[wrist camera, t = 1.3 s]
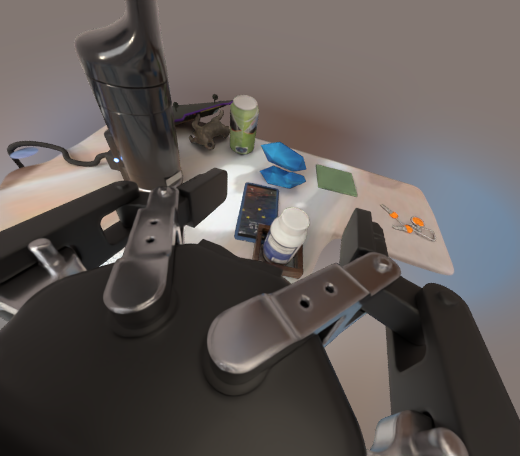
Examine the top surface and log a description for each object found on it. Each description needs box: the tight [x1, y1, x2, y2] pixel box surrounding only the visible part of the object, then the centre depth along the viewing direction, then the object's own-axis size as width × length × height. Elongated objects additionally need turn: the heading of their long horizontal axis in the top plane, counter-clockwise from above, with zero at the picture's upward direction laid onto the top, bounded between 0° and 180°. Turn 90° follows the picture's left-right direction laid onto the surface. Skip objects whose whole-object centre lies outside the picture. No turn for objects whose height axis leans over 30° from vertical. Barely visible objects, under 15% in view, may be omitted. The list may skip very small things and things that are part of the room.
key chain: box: [381, 204, 436, 241], centre depth 46 cm, size 13×7×1 cm, turn 70°
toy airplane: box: [172, 94, 233, 125], centre depth 48 cm, size 23×26×5 cm
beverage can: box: [230, 95, 259, 154], centre depth 45 cm, size 6×7×12 cm
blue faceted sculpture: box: [260, 142, 306, 188], centre depth 42 cm, size 7×9×12 cm
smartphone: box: [234, 182, 279, 244], centre depth 39 cm, size 8×1×15 cm
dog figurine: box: [189, 110, 230, 150], centre depth 48 cm, size 12×6×7 cm
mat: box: [316, 165, 357, 197], centre depth 50 cm, size 10×9×1 cm
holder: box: [252, 224, 303, 279], centre depth 33 cm, size 8×8×2 cm
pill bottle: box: [262, 207, 310, 266], centre depth 30 cm, size 5×5×10 cm
